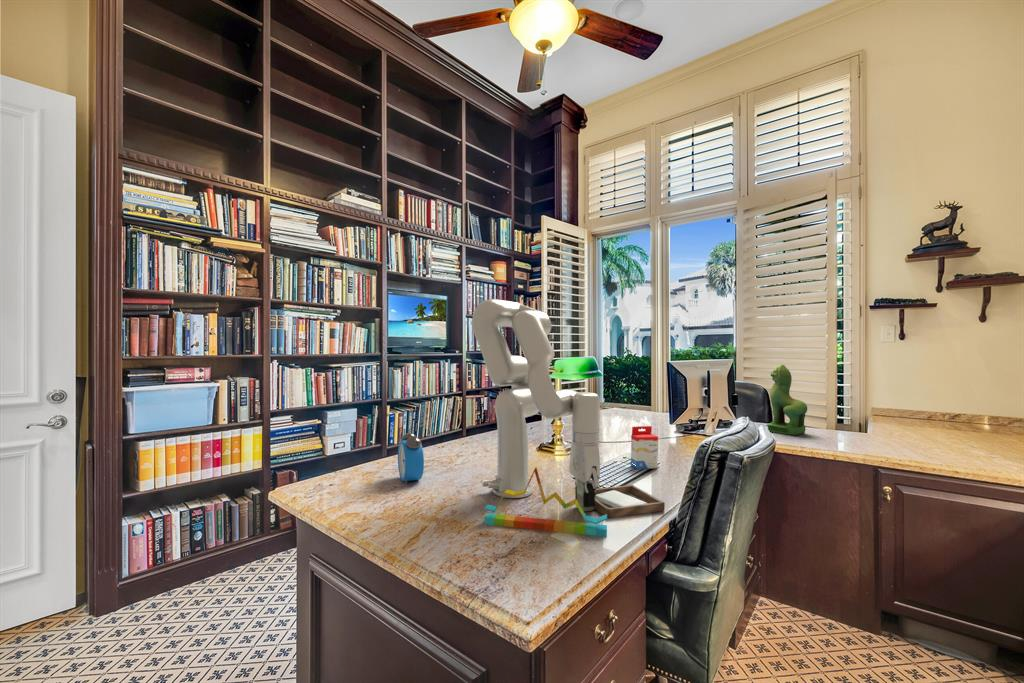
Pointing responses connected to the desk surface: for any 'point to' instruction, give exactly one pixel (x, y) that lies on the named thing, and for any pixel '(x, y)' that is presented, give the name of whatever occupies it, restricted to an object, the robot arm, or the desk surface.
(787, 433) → the lion statue
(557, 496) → the chart
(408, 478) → the alarm clock
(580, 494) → the sliding frame
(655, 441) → the ink box
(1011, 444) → the desk surface
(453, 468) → the desk surface
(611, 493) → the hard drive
